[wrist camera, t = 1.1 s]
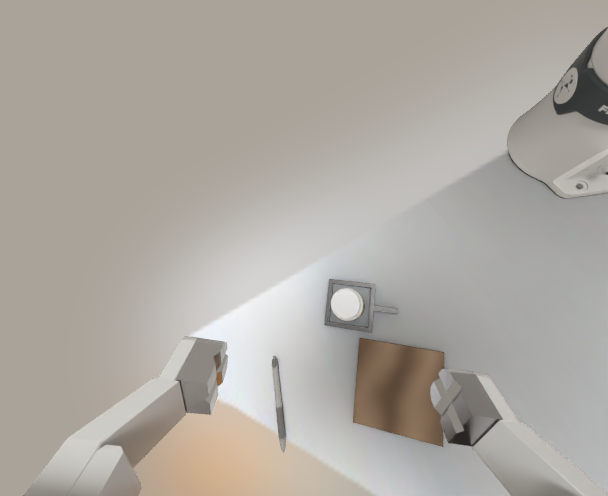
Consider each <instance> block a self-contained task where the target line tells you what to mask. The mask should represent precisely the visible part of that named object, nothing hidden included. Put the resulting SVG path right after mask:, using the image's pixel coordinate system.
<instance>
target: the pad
mask: <svg viewBox="0 0 608 496" xmlns="http://www.w3.org/2000/svg"><path fill="white" fill-rule="evenodd" d="M442 369H444V352H439V351H433V350H427V349H421V348H416V347H410V346H404V345H398V344H392V343H387V342H381V341H375V340H369V339H363V338H360V342H359V355H358V367H357V379H356V392H355V404H354V416H353V422H354V423H358V424H361V425H365V426H369V427H372V428H376V429H380V430H383V431H387V432H391V433H394V434H398V435H402V436H405V437H409V438H413V439H416V440H420V441H424V442H427V443H431V444H435V445H438V446H442V447H443V429H442V426H441V424H440V418H441V415H440V414H439V412H438V411H437V410H436V409H435V408H434V406H433V403H432V400H431V395H430V391H431V385H432V384H433V382H434V381H435V380H437V379H439V378H440V377H439V372H440V371H441V370H442Z"/></svg>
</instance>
